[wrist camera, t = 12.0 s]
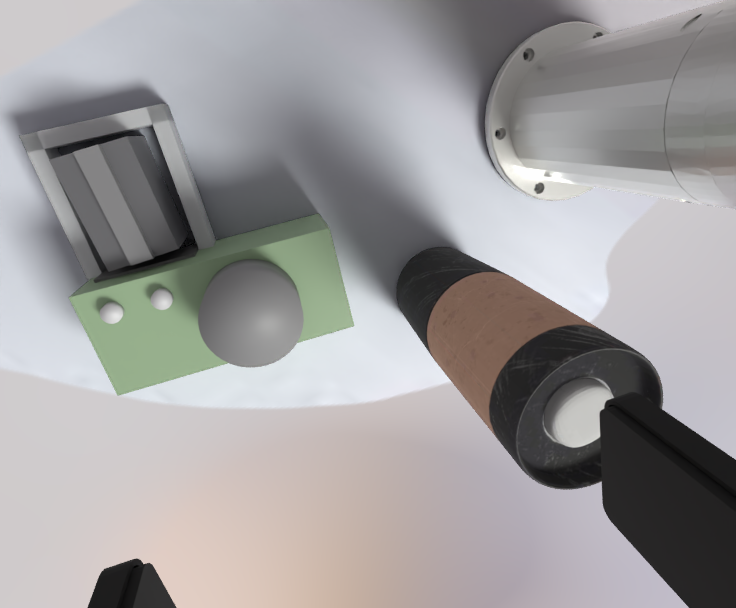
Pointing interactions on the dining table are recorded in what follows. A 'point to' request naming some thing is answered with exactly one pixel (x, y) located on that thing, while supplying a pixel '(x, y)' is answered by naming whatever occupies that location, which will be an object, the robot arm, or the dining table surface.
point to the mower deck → (194, 277)
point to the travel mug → (522, 363)
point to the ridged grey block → (121, 201)
